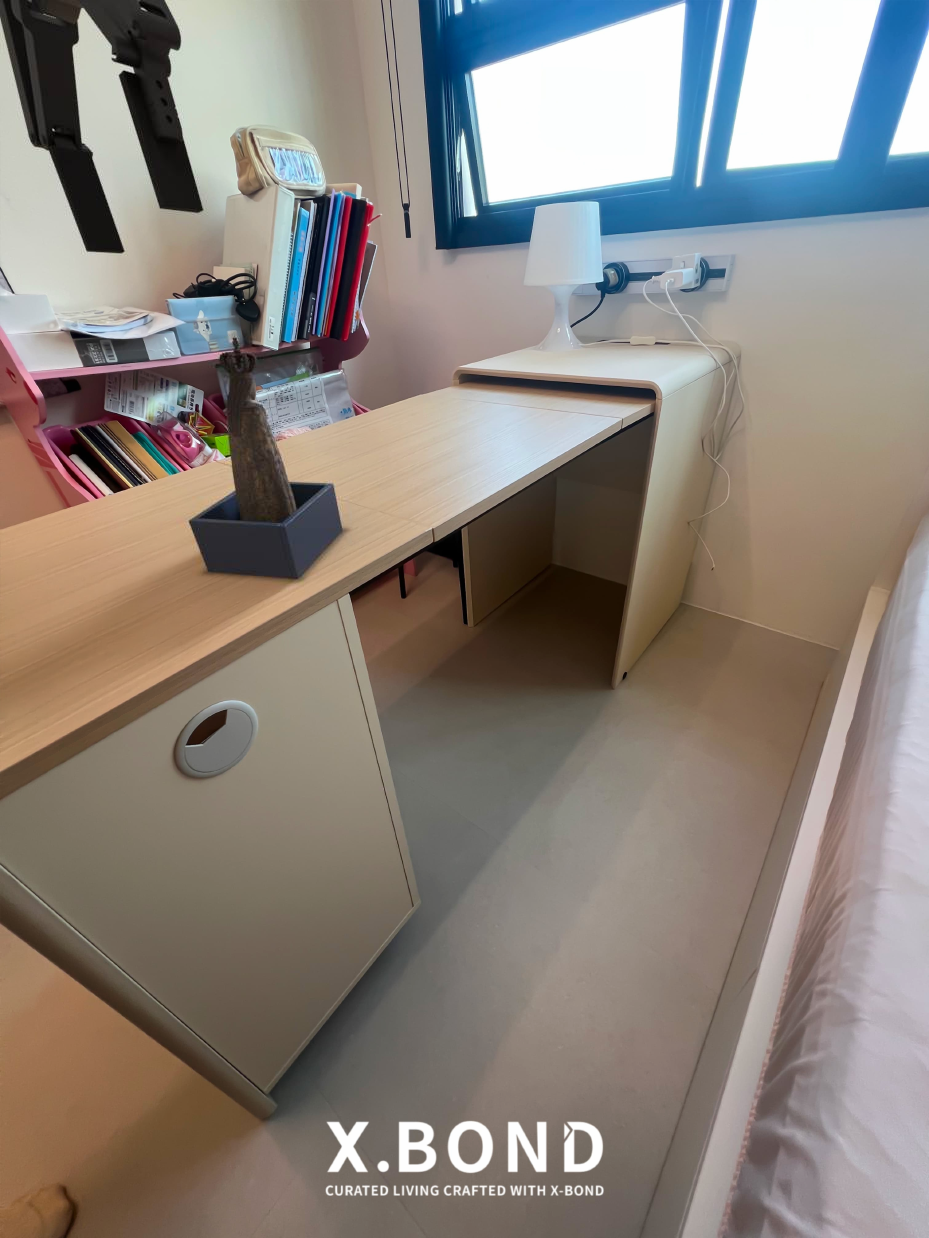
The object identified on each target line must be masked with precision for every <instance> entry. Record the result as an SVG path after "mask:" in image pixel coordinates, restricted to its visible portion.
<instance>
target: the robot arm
mask: <svg viewBox="0 0 929 1238" xmlns="http://www.w3.org/2000/svg"><path fill="white" fill-rule="evenodd" d="M82 9H83V10H84V11H85V12H86V14H87V15H88V16H89V18H90V19H91V20H92V21H93V23H94V25H95V26H96V27H97V29H98V30H99V31H100V32H101V34H102V35H103V37H104V38H105V39H106V41H107V42H108V43H109V45H110V46H111V55H113V56H115V58H114V57H111V61H112V62H113V63H116V64H120V65H124V66H126V67H130V68H132V69H133V72H131V71H127V70H125V69H123V70H122V71H121V72H120V73H119V74H118V78H119V82H120V84H121V88H122V90H123V94H124V98H125V101H126V104H127V107H128V110H129V115H130V117H131V121H132V123H133V127H134V130H135V134H136V137H137V140H138V142H139V146H140V149H141V154H142V156H143V160H144V162H145V164H146V169H147V172H148V175H149V178H150V181H151V185H152V188H153V191H154V194H155V197H156V201H157V204H158V207H159V209H160V210H168V211H177V212H184V213H185V212H186V213H194V214H199V213H201V212H203V211H204V207H203V204H202V200H201V197H200V193H199V189H198V185H197V183H196V179H195V175H194V172H193V168H192V165H191V161H190V157H189V154H188V150H187V146H186V143H185V139H184V133H183V128H182V124H181V119H180V117H179V113H178V109H177V108H176V107H177V106H176V102H175V99H174V95H173V92H172V88H171V85H170V80H169V78H170V77H171V76H172V75H171V74H172V63H171V58H170V53H171V50H173V51H176V52H177V51H179V50H180V49H181V46H182V45H181V44H182V35H181V31H180V27H179V25H178V23H177V22H176V19H175V17H174V15H173V14H172V11H171V10H170V7H169V6H168V3H167V2H166V0H0V23H1V27H2V32H3V37H4V40H5V44H6V49H7V52H8V56H9V60H10V65H11V68H12V69H11V70H12V72H13V73H12V74H13V77H14V81H15V85H16V88H17V94H18V98H19V100H20V101H19V102H20V107H21V109H22V114H23V118H24V123H25V127H26V130H27V135H28V138H29V141H30V143H31V144H32V146H33V147H34V148H40V149H42V150H43V149H44V150H45V151H48V152H49V155H50V158H51V161H52V163H53V165H54V169H55V171H56V174H57V177H58V179H59V182H60V185H61V187H62V189H63V192H64V195H65V197H66V200H67V204H68V206H69V208H70V211H71V214H72V216H73V219H74V221H75V224H76V227H77V229H78V233H79V235H80V237H81V241H82V244H83V245H84V248H85V251H86V253H87V252H88V253H104V254H123V253H125V252H126V251H125V249H124V246H123V245H124V244H123V243H122V240H121V237H120V234H119V231H118V228H117V225H116V222H115V219H114V217H113V214H112V211H111V207H110V205H109V202H108V199H107V196H106V194H105V191H104V187H103V185H102V182H101V178H100V176H99V174H98V170H97V168H96V165H95V162H94V159H93V156H94V152H93V151H92V150H91V149H90V147H88V146H87V145H86V143H83V141H82V139H83V138H82V131H81V120H80V110H79V99H78V90H77V89H78V88H77V80H76V79H77V78H76V70H75V60H74V58H75V57H74V52H73V51H74V50H73V49H74V46H76V45H77V44H78V43H79V42H80V33H79V19H80V14H81V11H82Z"/></svg>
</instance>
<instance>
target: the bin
mask: <svg viewBox="0 0 929 1238" xmlns="http://www.w3.org/2000/svg"><path fill="white" fill-rule="evenodd" d="M289 483H290V487H291V490H292V493H293V497H294V500H295V504H296V509H297V510H296V511H295V512H294V513H293V514H292V515H291V516H289V517H288V518H287V519H286V520H285V521H284V522H282V523H269V522H251V521H241V518H240V512H239V507H238V502H237V497H236V491H235V490H233V491H232V492H230V493H229V494H228V495H226V496H224V497H223V498H221V499H219V500H218V501H217V502H215V503H214V504H212V505H210V506H209V507H208V508H206V509H204V510H202V511H201V512H200V513H198V514H196V515H195V516H194V517H192V518H190V519H189V520H188V524H189V527H190V530H191V531H192V535H193V537H194V540H195V542H196V545H197V548H198V550H199V552H200V554H201V557H202V560H203V563H204V565H205V567H206V570H207V572H208V573H218V574H232V575H244V576H245V575H246V576H257V577H270V578H282V579H297V580H299V578H301V576H303V575H304V573H305V572H306V571H307V570H308V569H309V568H310V567H311V566H312V565H313V564H314V563H315V561H317V559H318V558H319V557H320V556H321V555H322V554H323V553H324V551H326V549H328V547H329V546H330V545H331V544H332V543H333V542H334V541H335V540H336V539H337V538H338V536H339V535H340V534H341V533H342V532H343V531H344V530H343V525H342V520H341V515H340V511H339V505H338V500H337V495H336V490H335V485H334V483H328V482H306V481H305V482H302V481H299V482H298V481H289Z"/></svg>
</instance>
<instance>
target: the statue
mask: <svg viewBox="0 0 929 1238" xmlns="http://www.w3.org/2000/svg"><path fill="white" fill-rule="evenodd" d="M231 342H232V346H233V347H234V349H233V351H225V352H222V353H221V354H219V357H218V361H219V364H220V365H221V367H222V368H223V370H224V371H225V372H226V373H228V378H229V383H228V394H227V400H226V401H227V402H226V416H227V417H226V425H227V426H226V427H227V438H228V446H229V454H230V461H231V472H232V478H233V483H234V484H233V485H234V491H236V497H237V502H238V507H239V512H240V518H241V521H251V522H269V523H282V522H284V521H285V520H286V519H287V518H288V517H289V516H291V515H292V514H293V513H294V512H295V511H296V510H297V509H296V504H295V500H294V497H293V493H292V490H291V487H290V483H289V482H290V481H289V478H288V477H289V476H288V474H287V471H286V467H285V464H284V461H283V458H282V455H281V452H280V449H279V447H278V444H277V441H276V439H275V436H274V434H273V432H272V429H271V426H270V424H269V422H268V416H267V411H266V408H265V407H264V405H263V404H262V403H261V404H260V403H257V402H254V401H255V400H256V397H257V384H256V381H255V379H254V375H253V374H252V373H253V372H254V371H255V369H256V368H257V363H258V359H257V357H256V355H255V354H253V353H250V352H242V350H241V349H240V348H239V347H240V343H239V341H238V337H232V341H231ZM233 358H234V359H235V363H236V365H235V363H234V360H233Z"/></svg>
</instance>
